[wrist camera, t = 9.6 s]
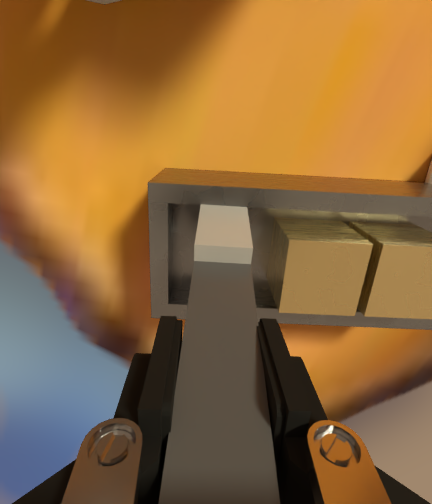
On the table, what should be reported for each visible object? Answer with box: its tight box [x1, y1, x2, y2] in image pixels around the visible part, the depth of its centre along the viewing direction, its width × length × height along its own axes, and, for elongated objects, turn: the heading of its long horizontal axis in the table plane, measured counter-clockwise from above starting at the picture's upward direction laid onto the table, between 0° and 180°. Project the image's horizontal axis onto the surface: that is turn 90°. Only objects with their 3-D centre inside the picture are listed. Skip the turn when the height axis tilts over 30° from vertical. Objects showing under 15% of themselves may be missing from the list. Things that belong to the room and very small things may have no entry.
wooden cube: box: [349, 221, 432, 319], centre depth 17 cm, size 4×4×4 cm
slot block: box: [148, 168, 432, 330], centre depth 20 cm, size 18×8×6 cm, turn 87°
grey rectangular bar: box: [159, 204, 280, 504], centre depth 10 cm, size 2×4×16 cm, turn 177°
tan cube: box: [267, 217, 373, 316], centre depth 17 cm, size 4×4×4 cm
